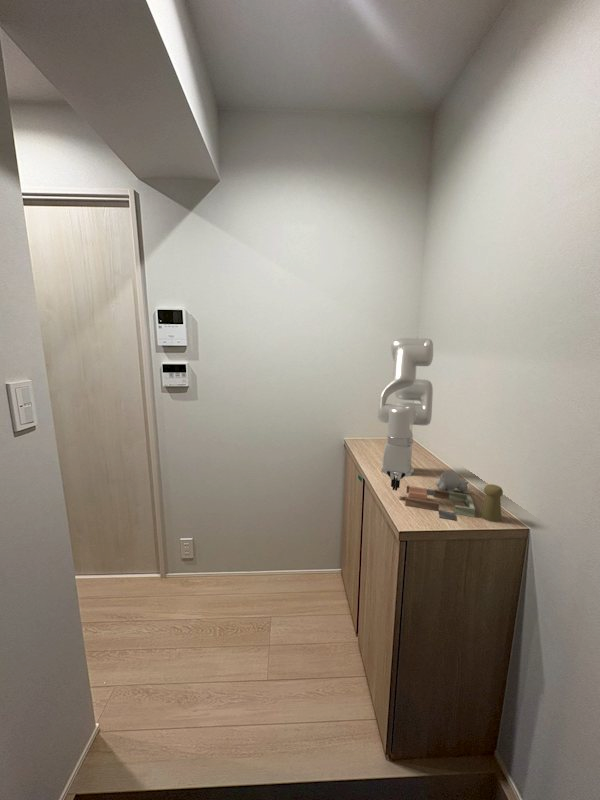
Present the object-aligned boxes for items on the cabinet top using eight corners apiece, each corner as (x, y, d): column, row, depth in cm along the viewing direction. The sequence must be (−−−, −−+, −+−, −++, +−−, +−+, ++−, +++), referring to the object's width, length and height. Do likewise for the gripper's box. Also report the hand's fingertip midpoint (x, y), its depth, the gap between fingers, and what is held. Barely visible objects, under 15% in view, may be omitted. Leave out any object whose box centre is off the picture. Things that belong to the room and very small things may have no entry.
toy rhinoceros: (467, 504, 123) (478, 485, 121) (437, 490, 124) (448, 471, 122) (461, 495, 130) (471, 477, 128) (432, 482, 131) (442, 464, 129)
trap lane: (407, 486, 131) (407, 480, 131) (467, 495, 124) (468, 489, 123) (404, 511, 110) (404, 504, 110) (476, 524, 103) (477, 516, 103)
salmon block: (408, 496, 123) (409, 486, 123) (425, 498, 121) (426, 488, 121) (408, 502, 118) (409, 492, 117) (426, 505, 116) (427, 494, 115)
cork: (476, 513, 110) (479, 482, 109) (493, 512, 111) (496, 482, 109) (487, 522, 104) (491, 490, 103) (505, 521, 105) (509, 489, 103)
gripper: (419, 441, 120) (416, 488, 122) (378, 436, 125) (376, 482, 127) (419, 445, 113) (416, 496, 115) (375, 441, 118) (373, 489, 120)
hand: (395, 489), depth 121 cm, fingers closed
